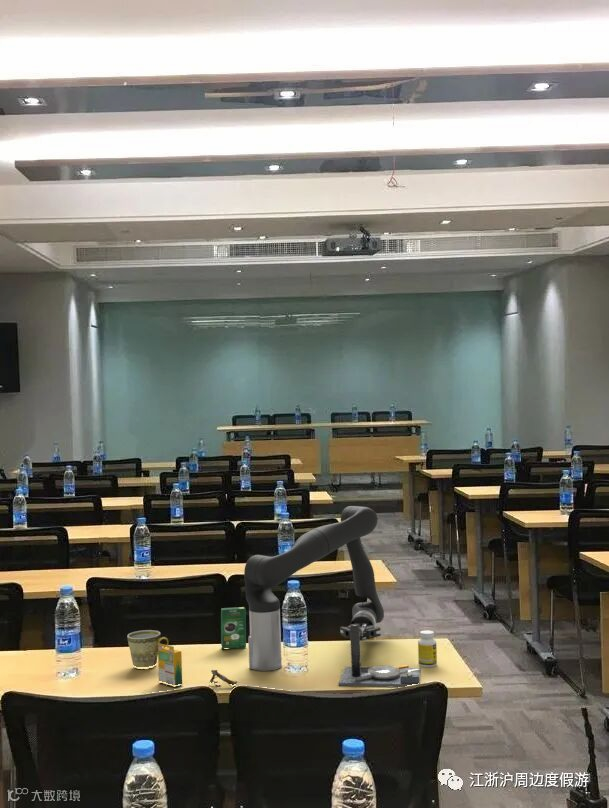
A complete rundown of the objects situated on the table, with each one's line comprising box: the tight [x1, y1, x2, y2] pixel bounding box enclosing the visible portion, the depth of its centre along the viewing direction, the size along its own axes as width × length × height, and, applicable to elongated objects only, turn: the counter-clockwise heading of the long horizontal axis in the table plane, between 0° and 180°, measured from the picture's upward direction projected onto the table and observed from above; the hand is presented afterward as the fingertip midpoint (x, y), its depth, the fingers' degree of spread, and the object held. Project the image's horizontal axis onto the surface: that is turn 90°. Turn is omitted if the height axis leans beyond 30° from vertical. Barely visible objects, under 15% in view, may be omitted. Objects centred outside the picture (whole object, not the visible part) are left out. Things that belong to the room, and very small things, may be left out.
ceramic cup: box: [126, 629, 170, 667], centre depth 260 cm, size 13×10×10 cm
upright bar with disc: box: [349, 624, 410, 680], centre depth 241 cm, size 18×9×15 cm, turn 117°
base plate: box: [338, 666, 422, 688], centre depth 242 cm, size 22×15×4 cm
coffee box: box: [220, 606, 247, 649], centre depth 278 cm, size 8×3×13 cm, turn 103°
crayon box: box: [157, 642, 183, 685], centre depth 242 cm, size 7×3×12 cm, turn 48°
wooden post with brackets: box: [209, 669, 238, 685], centre depth 239 cm, size 2×8×4 cm, turn 69°
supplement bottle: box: [417, 629, 438, 668], centre depth 252 cm, size 5×5×10 cm
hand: (357, 638), depth 252 cm, fingers closed
